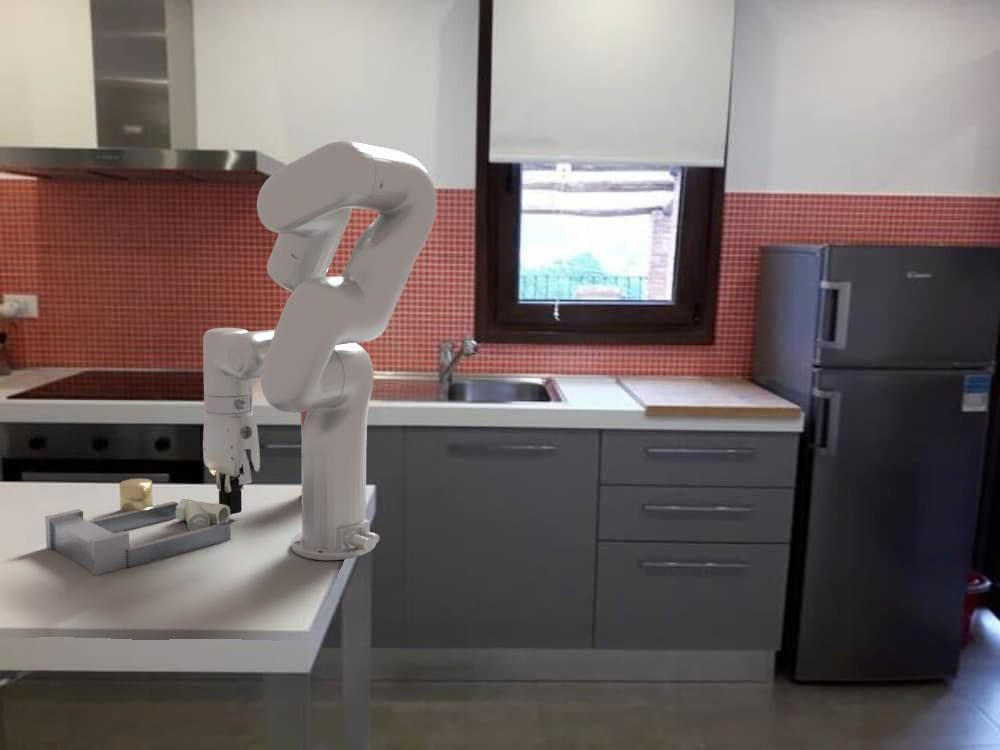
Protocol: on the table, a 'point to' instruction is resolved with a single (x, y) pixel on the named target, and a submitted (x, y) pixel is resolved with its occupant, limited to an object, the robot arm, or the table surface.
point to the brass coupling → (135, 494)
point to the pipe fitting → (201, 513)
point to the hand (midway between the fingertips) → (230, 512)
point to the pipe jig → (123, 538)
